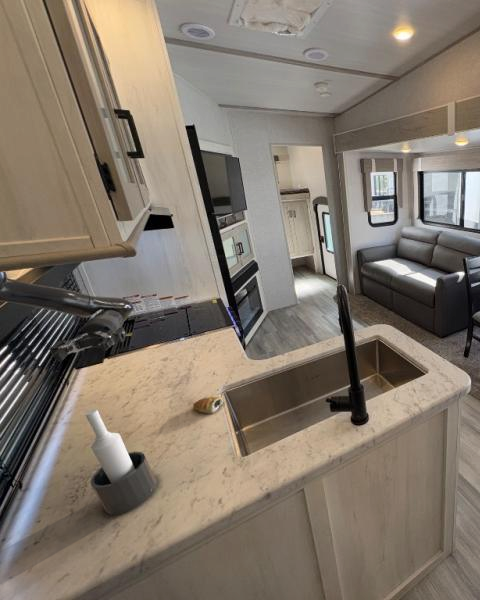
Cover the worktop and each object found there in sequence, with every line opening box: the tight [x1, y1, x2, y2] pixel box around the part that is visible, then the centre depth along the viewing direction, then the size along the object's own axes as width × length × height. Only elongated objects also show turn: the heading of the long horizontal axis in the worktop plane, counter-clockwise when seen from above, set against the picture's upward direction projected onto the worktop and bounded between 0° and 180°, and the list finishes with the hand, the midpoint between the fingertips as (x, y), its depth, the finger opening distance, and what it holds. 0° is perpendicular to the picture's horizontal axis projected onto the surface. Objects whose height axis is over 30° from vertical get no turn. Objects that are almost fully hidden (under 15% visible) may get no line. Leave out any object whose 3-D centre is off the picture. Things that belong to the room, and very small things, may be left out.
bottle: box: [84, 408, 135, 484], centre depth 74 cm, size 5×5×25 cm
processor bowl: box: [90, 451, 158, 516], centre depth 77 cm, size 10×10×9 cm
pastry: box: [192, 395, 224, 414], centre depth 109 cm, size 9×7×4 cm
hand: (81, 352), depth 78 cm, fingers open, 8 cm apart
